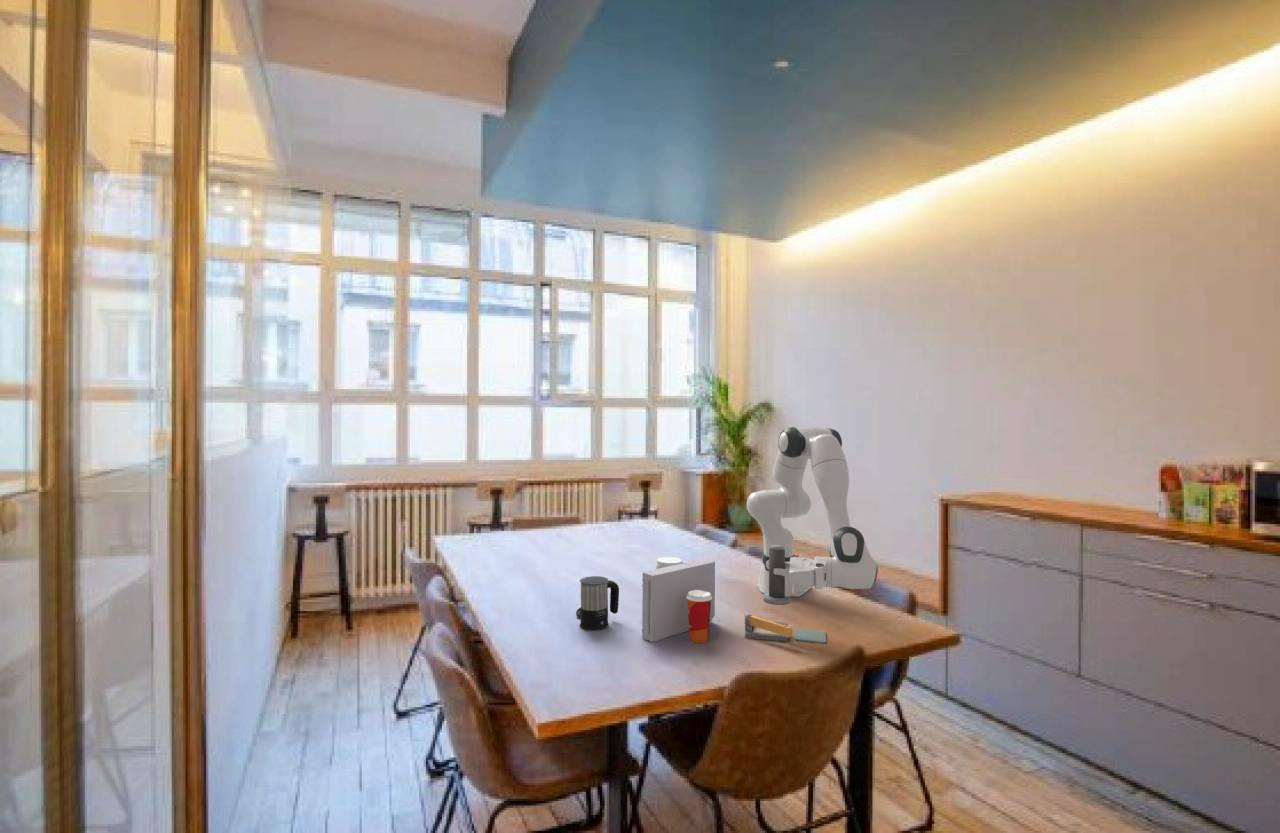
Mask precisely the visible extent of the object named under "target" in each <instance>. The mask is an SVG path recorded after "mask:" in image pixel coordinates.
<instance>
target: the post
mask: <svg viewBox="0 0 1280 833" xmlns="http://www.w3.org/2000/svg"><path fill="white" fill-rule="evenodd" d="M745 631H751V632H753V627H752V626H751V625H746V624H745V623H744V632H745Z"/></svg>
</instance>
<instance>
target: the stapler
mask: <svg viewBox="0 0 1280 833" xmlns="http://www.w3.org/2000/svg"><path fill="white" fill-rule="evenodd" d="M775 622H776V621H771V620H768V619H765V618H762V617H758V616H755V615H752V614H750V613H747V614H744V625H745V624H746V625H751V626H753V627H755V628H757V629H762V630H764V631H768V632H770V633H773V634H780V635H783V636H785V637H788V638H790V637H792V636H793V634H792V633H793V631H792V630H793V627H792V626H790V625H788V626H787V625H786V626H785V625H782V624H778V623H775Z"/></svg>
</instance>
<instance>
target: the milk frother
mask: <svg viewBox="0 0 1280 833" xmlns="http://www.w3.org/2000/svg"><path fill="white" fill-rule="evenodd" d="M579 582H580V607H579V608H578V609H576V612H575V614H576V615H575V616H577V617H578V618H579V619H580V623H579V626H580V628H581V629H583V630H584V631H585V630H586V631H601V630H604V629H606V628H608V627H609V625H610V624H609V612H611V613H612V614H613V615H614V614H615V615H616V614H617V613H619V598H620V596H619V595H620V588H619V584H618V583H616V582H614V581H613V580H609V579H608V578H607V577H604V576H598V575H595V576H593V575H592V576H591V575H590V576H586V577H582V578H580V579H579ZM608 589H609V590H610V593H609V591H608ZM608 593H609V595H608ZM608 596H610V597H608ZM609 598H610V599H609ZM608 600H609V601H608Z"/></svg>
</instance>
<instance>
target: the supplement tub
mask: <svg viewBox="0 0 1280 833" xmlns="http://www.w3.org/2000/svg"><path fill="white" fill-rule="evenodd" d="M682 563H683V559H681V558H679V557H673V556H663V557H658V558H657V560H656V568H655V569H659V568H664V567H668V566H673V565H678V564H682Z"/></svg>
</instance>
